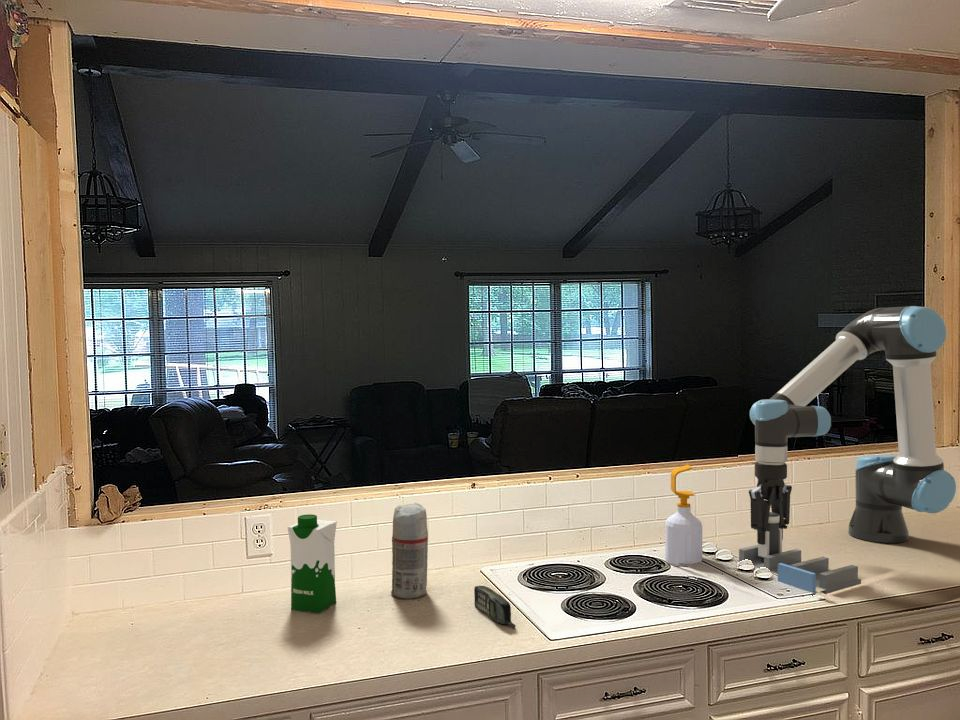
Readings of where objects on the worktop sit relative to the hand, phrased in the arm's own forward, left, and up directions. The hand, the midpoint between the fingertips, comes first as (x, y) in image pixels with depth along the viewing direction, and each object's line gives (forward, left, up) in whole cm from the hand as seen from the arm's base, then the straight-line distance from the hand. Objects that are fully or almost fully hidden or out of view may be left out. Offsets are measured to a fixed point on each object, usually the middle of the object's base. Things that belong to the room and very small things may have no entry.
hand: (770, 555), depth 190 cm
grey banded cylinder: (0, 0, -2) cm, 2 cm away
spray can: (+85, -30, -3) cm, 90 cm away
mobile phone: (+76, -8, -3) cm, 77 cm away
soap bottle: (+16, -14, -3) cm, 21 cm away
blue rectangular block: (+10, +15, -3) cm, 18 cm away
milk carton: (+106, -34, -3) cm, 111 cm away
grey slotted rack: (0, +8, -3) cm, 8 cm away
